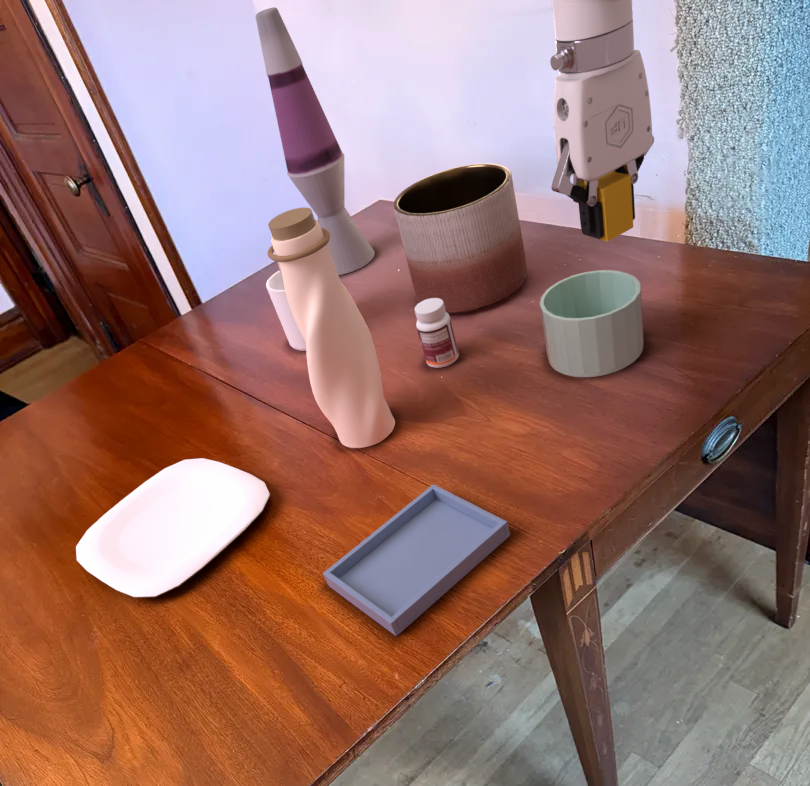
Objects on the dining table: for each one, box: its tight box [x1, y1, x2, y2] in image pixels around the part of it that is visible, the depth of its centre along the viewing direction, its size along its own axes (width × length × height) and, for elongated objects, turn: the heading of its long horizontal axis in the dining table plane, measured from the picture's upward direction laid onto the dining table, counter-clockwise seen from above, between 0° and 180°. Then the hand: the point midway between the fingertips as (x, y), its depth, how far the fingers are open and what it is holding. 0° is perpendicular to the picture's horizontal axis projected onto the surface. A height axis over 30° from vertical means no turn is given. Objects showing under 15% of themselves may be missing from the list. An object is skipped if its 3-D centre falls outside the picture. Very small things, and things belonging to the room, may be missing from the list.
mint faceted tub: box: [539, 269, 644, 378], centre depth 94 cm, size 12×12×8 cm
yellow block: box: [584, 171, 634, 243], centre depth 86 cm, size 4×4×6 cm
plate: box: [75, 457, 271, 599], centre depth 92 cm, size 22×22×2 cm
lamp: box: [255, 6, 376, 276], centre depth 126 cm, size 11×11×40 cm
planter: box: [392, 163, 528, 315], centre depth 113 cm, size 18×18×16 cm
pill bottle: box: [414, 298, 460, 369], centre depth 102 cm, size 5×5×8 cm
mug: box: [265, 270, 307, 352], centre depth 118 cm, size 13×10×10 cm
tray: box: [322, 483, 511, 637], centre depth 77 cm, size 16×11×2 cm
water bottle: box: [267, 207, 396, 449], centre depth 89 cm, size 10×9×28 cm
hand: (608, 225), depth 88 cm, fingers closed on yellow block, 4 cm apart
